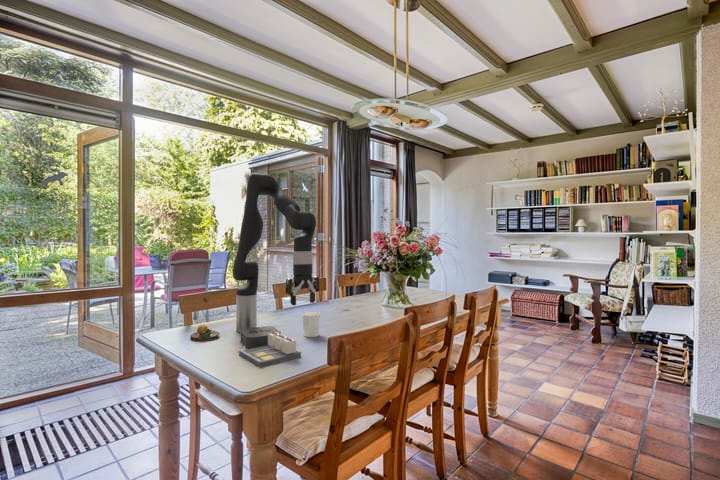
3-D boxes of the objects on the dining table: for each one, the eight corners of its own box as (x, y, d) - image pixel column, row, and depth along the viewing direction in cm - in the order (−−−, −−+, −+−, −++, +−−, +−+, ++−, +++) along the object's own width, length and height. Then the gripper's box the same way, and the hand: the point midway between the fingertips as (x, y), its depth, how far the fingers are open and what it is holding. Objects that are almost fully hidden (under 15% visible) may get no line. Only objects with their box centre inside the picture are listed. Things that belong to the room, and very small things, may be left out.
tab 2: (274, 348, 146) (274, 335, 146) (283, 346, 149) (283, 333, 148) (279, 350, 143) (279, 337, 143) (288, 348, 146) (288, 335, 146)
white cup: (299, 336, 169) (299, 314, 169) (307, 332, 176) (308, 311, 176) (314, 338, 166) (314, 316, 166) (322, 334, 173) (323, 312, 173)
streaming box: (247, 350, 149) (247, 337, 149) (239, 341, 161) (239, 329, 161) (282, 345, 156) (282, 333, 156) (271, 336, 169) (272, 325, 169)
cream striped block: (281, 351, 142) (281, 338, 142) (290, 349, 144) (290, 336, 144) (287, 354, 139) (287, 340, 139) (295, 352, 142) (296, 338, 142)
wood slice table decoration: (222, 339, 164) (222, 322, 164) (194, 343, 157) (194, 326, 157) (214, 333, 174) (214, 317, 174) (187, 337, 167) (187, 320, 166)
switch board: (239, 355, 143) (239, 350, 143) (278, 346, 154) (278, 341, 154) (259, 367, 131) (259, 361, 131) (300, 356, 142) (300, 351, 142)
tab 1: (267, 344, 150) (267, 332, 150) (276, 343, 153) (276, 330, 152) (272, 347, 147) (272, 334, 147) (280, 345, 150) (281, 332, 150)
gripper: (312, 261, 155) (312, 300, 155) (282, 263, 145) (282, 304, 145) (323, 262, 149) (323, 302, 149) (292, 264, 140) (292, 307, 140)
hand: (303, 303), depth 147 cm, fingers open, 8 cm apart
